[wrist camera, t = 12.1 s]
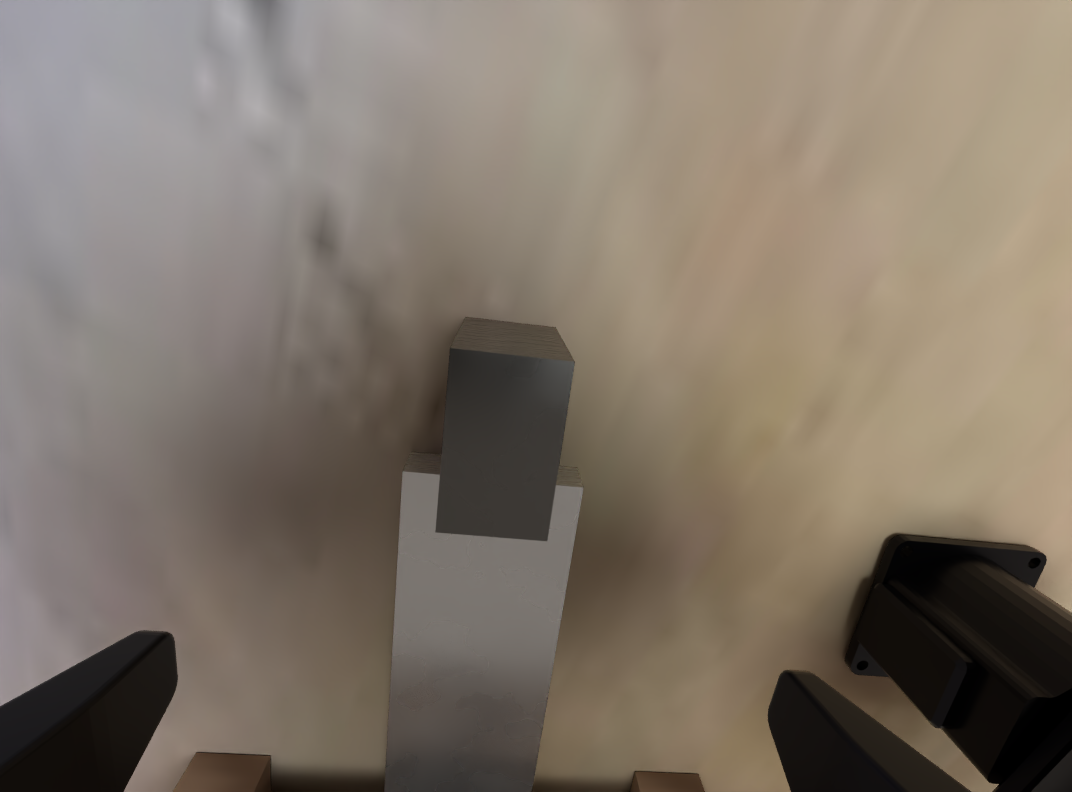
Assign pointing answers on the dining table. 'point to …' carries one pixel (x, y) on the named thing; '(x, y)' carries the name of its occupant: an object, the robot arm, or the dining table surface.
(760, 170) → the dining table surface
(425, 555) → the blade tool
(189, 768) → the wooden footstool
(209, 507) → the dining table surface
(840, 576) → the dining table surface
